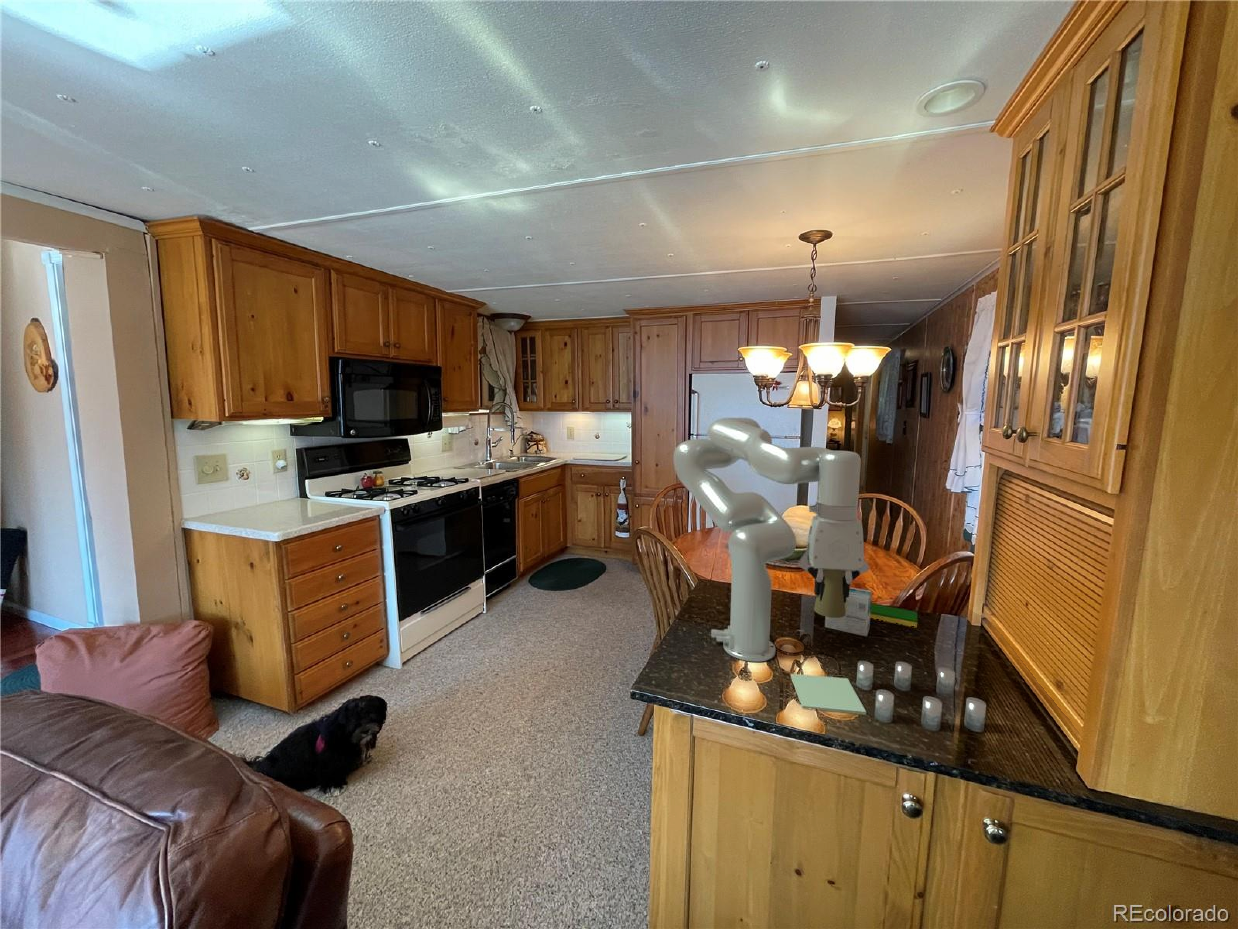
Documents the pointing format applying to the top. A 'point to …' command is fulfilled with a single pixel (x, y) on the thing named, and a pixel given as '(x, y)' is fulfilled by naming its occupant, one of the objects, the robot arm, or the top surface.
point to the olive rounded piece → (831, 595)
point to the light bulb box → (854, 613)
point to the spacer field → (930, 704)
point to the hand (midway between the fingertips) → (831, 598)
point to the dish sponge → (893, 615)
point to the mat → (827, 694)
